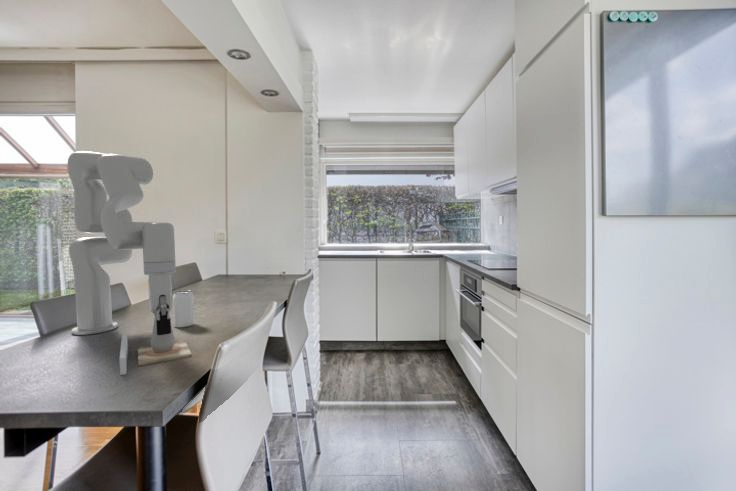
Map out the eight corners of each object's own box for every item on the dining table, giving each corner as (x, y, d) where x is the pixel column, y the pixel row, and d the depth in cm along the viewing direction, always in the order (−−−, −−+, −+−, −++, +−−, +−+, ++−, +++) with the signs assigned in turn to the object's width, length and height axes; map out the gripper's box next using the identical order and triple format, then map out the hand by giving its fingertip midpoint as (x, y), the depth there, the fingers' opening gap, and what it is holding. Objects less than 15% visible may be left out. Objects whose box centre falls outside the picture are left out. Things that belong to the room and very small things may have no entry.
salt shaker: (179, 347, 101) (177, 301, 100) (166, 354, 95) (164, 306, 95) (160, 346, 102) (158, 301, 101) (146, 354, 96) (143, 306, 95)
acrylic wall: (122, 348, 102) (122, 335, 102) (127, 348, 103) (127, 334, 103) (120, 375, 84) (119, 358, 84) (126, 374, 85) (125, 357, 84)
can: (180, 329, 122) (179, 294, 121) (170, 326, 125) (168, 292, 124) (198, 324, 127) (197, 291, 127) (187, 322, 131) (186, 289, 130)
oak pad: (137, 350, 101) (137, 347, 101) (185, 342, 108) (185, 339, 107) (138, 366, 89) (138, 363, 89) (191, 356, 96) (191, 353, 96)
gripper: (143, 266, 102) (145, 325, 103) (144, 272, 88) (147, 340, 89) (172, 264, 106) (175, 321, 107) (178, 270, 92) (181, 335, 93)
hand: (162, 329), depth 98 cm, fingers open, 9 cm apart
